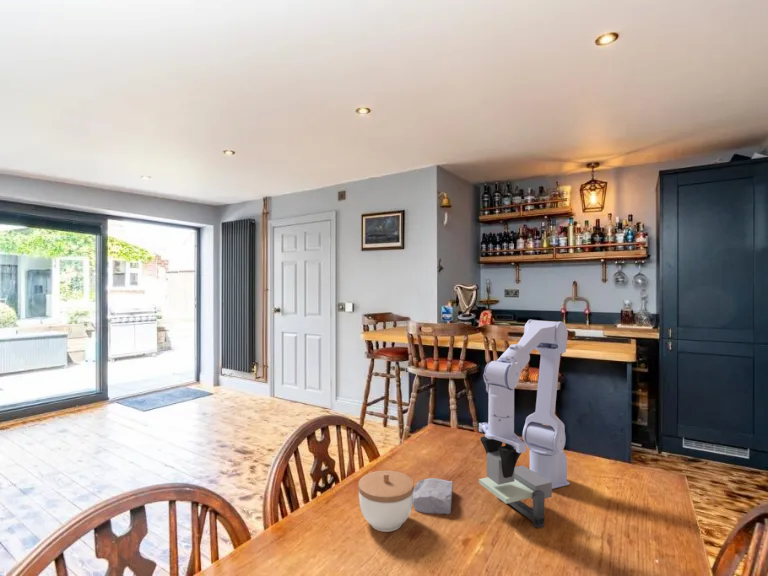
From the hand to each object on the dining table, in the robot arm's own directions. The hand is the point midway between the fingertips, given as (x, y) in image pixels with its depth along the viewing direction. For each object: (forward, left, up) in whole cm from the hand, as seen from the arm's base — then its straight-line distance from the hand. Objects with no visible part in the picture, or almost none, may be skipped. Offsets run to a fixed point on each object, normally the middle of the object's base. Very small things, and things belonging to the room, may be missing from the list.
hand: (500, 472), depth 96 cm
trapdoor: (-4, 0, -6) cm, 7 cm away
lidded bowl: (+26, -8, -11) cm, 29 cm away
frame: (-5, 0, -10) cm, 12 cm away
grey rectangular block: (0, 0, -2) cm, 2 cm away
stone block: (+11, -12, -11) cm, 20 cm away
